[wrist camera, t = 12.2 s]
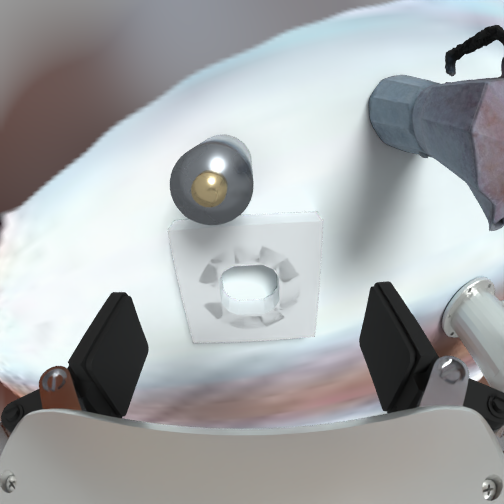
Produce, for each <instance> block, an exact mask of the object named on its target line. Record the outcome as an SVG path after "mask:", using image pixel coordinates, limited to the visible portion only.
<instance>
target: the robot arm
mask: <svg viewBox="0 0 504 504" xmlns="http://www.w3.org/2000/svg"><path fill="white" fill-rule="evenodd" d="M442 328H443V330H444V332H445V333H446V335H447V336H449V337H459V338H460V340H461V341H462V343H463V344H464V346H465V347H466V349H467V350H468V352H469V353H470V355H471V356H472V358H473V359H474V361H475V362H476V364H477V365H478V367H479V368H480V370H481V372H482V373H483V375H484V376H485V378H486V380H487V381H488V383H489V385H490V386H491V387H489V386H487V385H484V384H482V383H479V382H477V381H475V380H472V379H470V378H469V370H468V367H467V366H466V364H465V363H464V362H463V361H461V360H460V359H458V358H456V357H453V356H443V357H441V358H439V357H438V355H437V353H436V352H435V350H434V348H433V346H432V345H431V343H430V341H429V340H428V338H427V336H426V335H425V333H424V332H423V330H422V328H421V327H420V325H419V324H418V322H417V320H416V319H415V317H414V316H413V314H412V313H411V312H410V310H409V309H408V307H407V306H406V304H405V303H404V301H403V300H402V298H401V297H400V295H399V294H398V292H397V291H396V289H395V288H394V286H393V285H392V283H391V282H377V283H375V285H374V287H371V288H370V292H369V297H368V302H367V307H366V312H365V317H364V321H363V326H362V330H361V334H360V339H359V342H360V347H361V350H362V353H363V355H364V358H365V361H366V363H367V366H368V369H369V372H370V374H371V377H372V380H373V383H374V386H375V389H376V392H377V395H378V398H379V400H380V403H381V406H382V409H383V411H387V413H388V414H383V415H378V416H372V417H367V418H361V419H355V420H349V421H342V422H335V423H328V424H319V425H310V426H298V427H284V428H263V429H220V428H199V427H185V426H174V425H164V424H156V423H148V422H141V421H135V420H129V419H122V416H125V415H126V413H127V411H128V408H129V405H130V402H131V399H132V396H133V393H134V390H135V387H136V384H137V382H138V379H139V376H140V373H141V370H142V368H143V365H144V362H145V360H146V357H147V354H148V343H147V341H146V338H145V335H144V333H143V330H142V327H141V324H140V322H139V319H138V316H137V313H136V310H135V307H134V304H133V301H132V298H131V297H130V296H128V295H127V293H125V292H113V293H111V295H110V296H109V297H108V299H107V300H106V302H105V303H104V305H103V306H102V308H101V309H100V311H99V312H98V314H97V316H96V317H95V319H94V320H93V322H92V323H91V325H90V326H89V328H88V330H87V331H86V333H85V334H84V336H83V338H82V339H81V341H80V343H79V344H78V346H77V348H76V349H75V351H74V353H73V354H72V356H71V358H70V359H69V361H68V363H69V367H68V368H65V367H63V366H55V367H51V368H50V369H48V370H46V371H45V372H44V373H43V374H42V376H41V377H40V380H39V389H38V390H36V391H34V392H32V393H30V394H28V395H25V396H23V397H21V398H19V399H17V400H15V401H13V402H11V403H10V404H8V405H7V406H6V407H5V408H4V410H3V412H2V416H1V419H2V420H1V422H0V504H504V300H501V301H499V300H498V299H497V298H496V297H495V288H494V285H493V283H492V282H491V281H490V280H489V279H488V278H485V277H480V278H476V279H474V280H472V281H470V282H468V283H467V284H466V285H464V286H463V287H462V288H461V289H460V290H459V291H458V292H457V293H456V294H455V296H454V297H453V298H452V300H451V301H450V302H449V304H448V306H447V308H446V310H445V312H444V315H443V319H442Z"/></svg>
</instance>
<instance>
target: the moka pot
mask: <svg viewBox="0 0 504 504" xmlns="http://www.w3.org/2000/svg"><path fill="white" fill-rule="evenodd" d="M495 40H499V41H500V42H501V43H502V44H503V45H504V30H503V28H502V27H500V26H499V25H494V26H491V27H486V28H485V29H484V30H481V32H478V33H477V34H476V35H475V36H473V37H471V38H469V39H468V40H466V41H465V42H464V43H463V44H459V45H457V47H456V48H453V49H452V50H449V51H448V52H446V56H445V62H446V65H445V69H446V73H447V74H449V75H450V76H454V75H455V74H456V72H455V63H456V60H459V59H460V58H461V57H462V56H463V55H464V54H469V53H471V52H474V51H475V50H476V49H479V48H482V47H483V46H487V45H488V44H490V43H492V42H493V41H495ZM501 70H502V75H501V77H498V78H486V79H476V80H466V81H457V82H452V83H451V82H446V83H445V84H440V83H436V82H433V81H429V80H424V79H420V78H416V77H412V76H407V75H397V76H392V77H388V78H385V79H383V80H382V81H381V82H380V83H379V84H378V85H377V87H376V88H375V90H374V91H373V93H372V95H371V96H370V102H369V108H370V120H371V123H372V126H373V128H374V129H375V131H376V133H377V134H378V136H379V138H380V139H381V140H382V141H383V142H384V143H386V144H388V145H390V146H392V147H394V148H397V149H400V150H402V151H405V152H410V153H415V154H419V155H420V156H421V157H423V158H428V156H429V157H432V158H434V159H436V160H437V161H439V162H440V163H441V164H443V165H444V166H445V167H447V168H448V169H449V170H451V171H452V172H453V173H455V174H456V175H457V176H459V177H460V178H461V179H462V180H464V181H465V182H466V183H467V185H468V186H469V187H470V189H471V191H472V192H473V194H474V196H475V197H476V199H477V201H478V203H479V204H480V206H481V208H482V210H483V212H484V213H485V215H486V217H487V219H488V222H489V231H495V230H498V229H500V228H502V227H503V226H504V57H503V59H502V64H501Z"/></svg>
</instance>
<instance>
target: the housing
mask: <svg viewBox="0 0 504 504" xmlns="http://www.w3.org/2000/svg"><path fill="white" fill-rule="evenodd" d="M168 236H169V241H170V246H171V251H172V256H173V261H174V266H175V271H176V275H177V280H178V284H179V288H180V293H181V297H182V301H183V305H184V309H185V314H186V318H187V321H188V325H189V329H190V333H191V337H192V341H193V343H225V342H250V341H268V340H282V339H295V338H306V337H315V330H316V320H317V310H318V299H319V287H320V273H321V258H322V239H323V220H322V218H321V217H320V215H319V214H318V212H317V211H314V212H291V213H272V214H254V215H239V216H238V217H237V218H235V219H234V220H232V221H230V222H227V223H224V224H221V225H204V224H200V223H197V222H194V221H192V220H190V219H185V220H174V221H173V223H172V224H171V226H170V228H169V229H168ZM250 265H264V266H266V267H269V268H271V269H273V270H274V271H275V273H276V274H277V288H276V289H275V291H274V292H273V294H271V295H269V296H268V297H266V298H264V299H249V300H238V299H235V298H232V297H230V296H229V295H228V294H227V293H226V292H225V290H224V289H223V282H222V274H223V272H224V271H226V270H228V269H230V268H231V267H233V266H250Z"/></svg>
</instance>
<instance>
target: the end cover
mask: <svg viewBox="0 0 504 504" xmlns="http://www.w3.org/2000/svg"><path fill="white" fill-rule="evenodd" d="M170 191H171V196H172V198H173V201H174V203H175V205H176V206H177V208H178V209H179V210H180V211H181V213H182V214H184V215H185V216H186V217H187V218H189V219H190V220H192V221H194V222H197V223H200V224H204V225H221V224H224V223H227V222H230V221H232V220H234V219H235V218H237V217H238V216H239V215H240V214H241V213H242V212H243V211H244V210H245V209H246V207H247V206H248V204H249V202H250V200H251V197H252V193H253V174H252V161H251V156H250V153H249V150H248V149H247V147H246V146H245V144H244V143H243V142H242V141H240V140H239V139H237V138H235V137H233V136H229V135H216V136H213V137H211V138H209V139H207V140H205V141H204V142H202V143H200V144H199V145H197V146H196V147H194V148H192V149H191V150H189V151H188V152H186V153H185V154H184V155H183V156H182V157H181V158H180V159H179V160H178V161H177V163H176V164H175V166H174V168H173V170H172V173H171V178H170Z"/></svg>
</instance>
